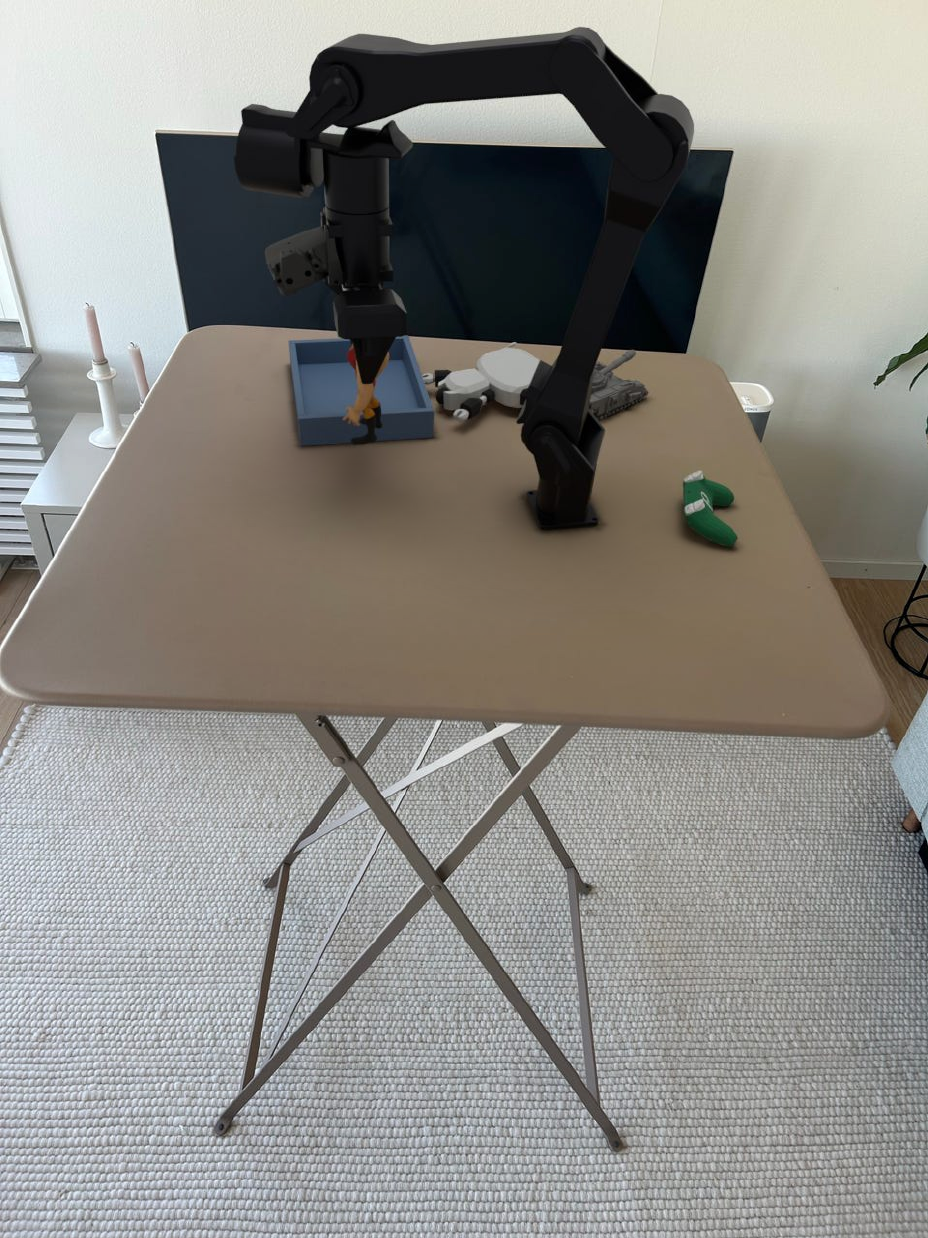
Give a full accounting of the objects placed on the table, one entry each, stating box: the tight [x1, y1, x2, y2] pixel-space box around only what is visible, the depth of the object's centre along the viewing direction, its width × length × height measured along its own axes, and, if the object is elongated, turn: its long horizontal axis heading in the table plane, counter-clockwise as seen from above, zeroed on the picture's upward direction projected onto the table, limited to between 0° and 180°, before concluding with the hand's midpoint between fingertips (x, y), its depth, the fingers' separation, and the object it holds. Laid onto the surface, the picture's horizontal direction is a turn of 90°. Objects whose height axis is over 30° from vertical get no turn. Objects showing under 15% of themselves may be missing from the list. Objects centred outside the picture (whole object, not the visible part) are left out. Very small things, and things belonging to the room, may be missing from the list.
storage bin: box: [288, 335, 435, 447], centre depth 109 cm, size 20×16×4 cm
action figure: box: [343, 344, 389, 446], centre depth 91 cm, size 10×4×15 cm, turn 172°
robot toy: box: [422, 341, 541, 422], centre depth 110 cm, size 12×4×15 cm
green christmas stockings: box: [682, 470, 739, 548], centre depth 94 cm, size 9×4×6 cm
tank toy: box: [588, 349, 649, 421], centre depth 112 cm, size 12×10×5 cm
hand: (362, 365), depth 90 cm, fingers closed on action figure, 7 cm apart
